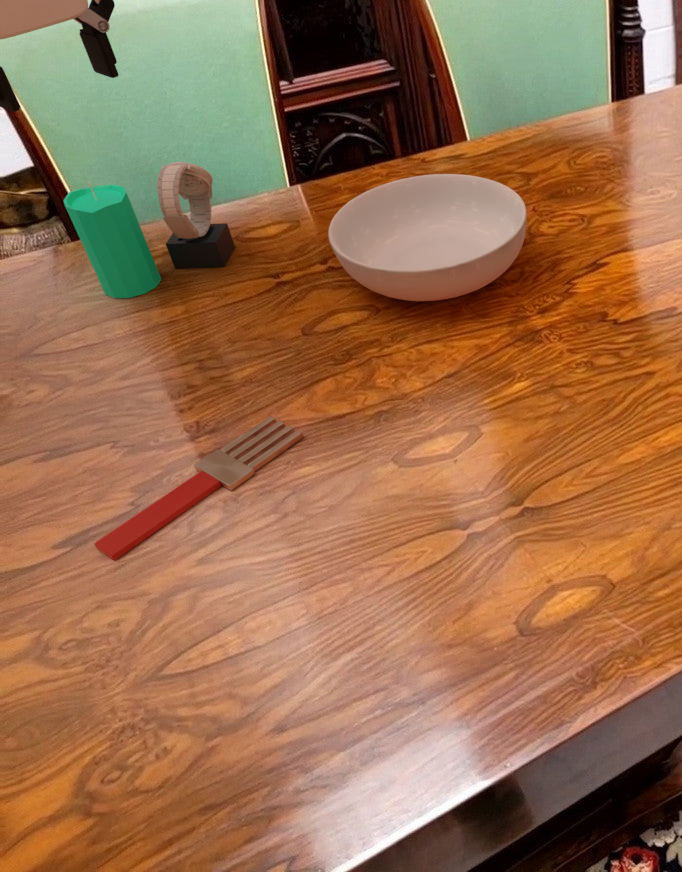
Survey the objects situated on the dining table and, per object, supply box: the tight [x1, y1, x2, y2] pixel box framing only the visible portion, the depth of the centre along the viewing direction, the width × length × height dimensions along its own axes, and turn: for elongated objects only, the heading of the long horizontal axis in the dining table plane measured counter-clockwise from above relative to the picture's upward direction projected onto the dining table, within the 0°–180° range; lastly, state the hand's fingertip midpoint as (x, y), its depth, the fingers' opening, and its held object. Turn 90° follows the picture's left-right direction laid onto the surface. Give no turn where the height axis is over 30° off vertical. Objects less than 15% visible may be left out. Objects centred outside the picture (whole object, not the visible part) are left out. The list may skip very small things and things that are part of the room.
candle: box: [62, 181, 163, 299], centre depth 99 cm, size 6×6×12 cm
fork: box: [93, 415, 304, 561], centre depth 78 cm, size 18×5×1 cm, turn 146°
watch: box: [156, 161, 236, 269], centre depth 103 cm, size 6×8×11 cm
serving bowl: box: [327, 173, 528, 302], centre depth 102 cm, size 21×21×7 cm
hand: (59, 90), depth 88 cm, fingers open, 9 cm apart
